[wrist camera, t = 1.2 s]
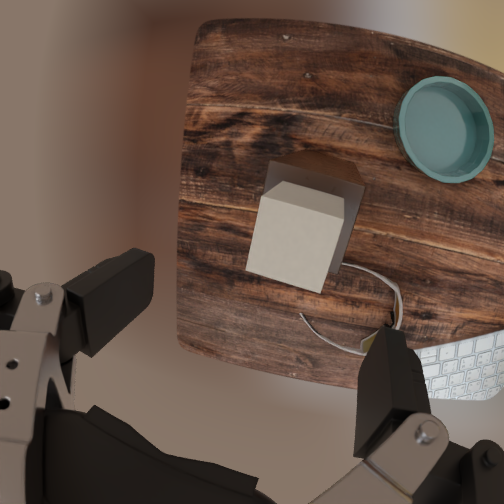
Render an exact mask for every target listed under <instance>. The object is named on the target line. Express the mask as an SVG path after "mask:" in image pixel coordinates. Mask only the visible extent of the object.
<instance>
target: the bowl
mask: <svg viewBox="0 0 504 504" xmlns="http://www.w3.org/2000/svg"><path fill="white" fill-rule="evenodd" d="M393 131H394V136H395V140H396V143H397V145H398V147H399V150H400V151H401V153H402V155H403V156H404V157H405V159H406V160H407V161H408V162H409V163H410V164H411V165H412V166H413V167H414V168H415V169H417V170H418V171H419V172H421V173H422V174H425V175H427V176H429V177H431V178H434V179H436V180H439V181H441V182H444V183H461V182H464V181H467V180H470V179H472V178H474V177H475V176H476V175H477V174H478V173H480V172H481V171H482V170H483V169H484V167H485V166H486V164H487V162H488V160H489V159H490V157H491V153H492V149H493V145H494V129H493V123H492V120H491V117H490V114H489V111H488V109H487V107H486V106H485V104H484V102H483V101H482V99H481V98H480V96H479V95H478V94H477V93H476V92H475V91H474V90H472V89H471V88H470V87H469V86H468V85H467V84H465V83H463V82H461V81H459V80H456V79H454V78H451V77H444V76H433V77H430V78H426V79H422V80H421V81H419V82H418V83H417V84H415V85H414V86H413V87H411V88H410V89H409V90H407V91H406V92H405V93H404V94H403V95H402V97H401V98H400V100H399V101H398V103H397V105H396V108H395V112H394V117H393Z"/></svg>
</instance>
